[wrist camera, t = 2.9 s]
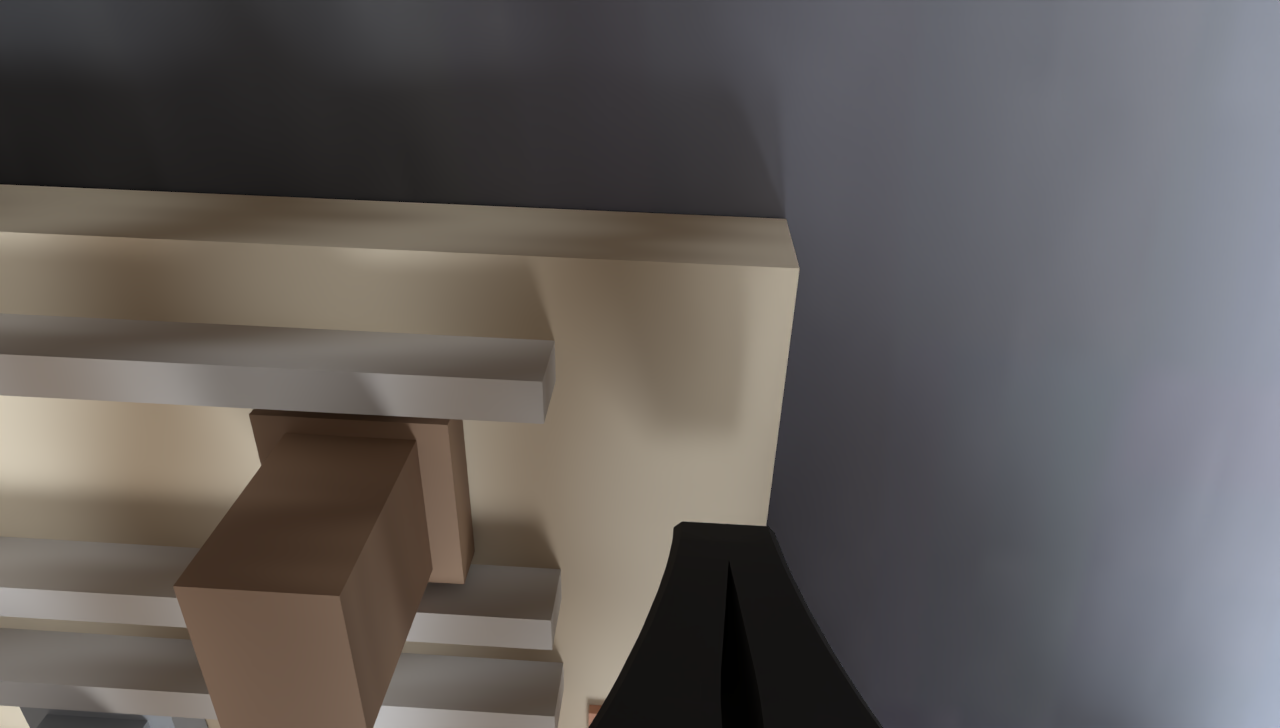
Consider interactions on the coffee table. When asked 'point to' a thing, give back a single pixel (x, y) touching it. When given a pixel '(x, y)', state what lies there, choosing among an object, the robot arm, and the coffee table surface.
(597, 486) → the switch panel
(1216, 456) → the coffee table surface
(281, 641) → the switch tab near
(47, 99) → the coffee table surface
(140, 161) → the coffee table surface
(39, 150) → the coffee table surface
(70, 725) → the switch tab far
